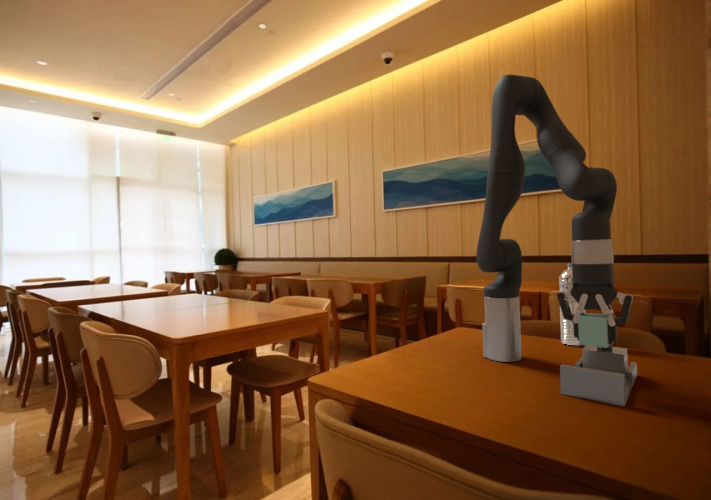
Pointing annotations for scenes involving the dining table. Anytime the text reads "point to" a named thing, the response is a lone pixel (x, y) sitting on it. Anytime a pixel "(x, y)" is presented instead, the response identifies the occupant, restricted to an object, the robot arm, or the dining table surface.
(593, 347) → the ram
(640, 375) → the dining table surface
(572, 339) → the water bottle
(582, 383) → the box
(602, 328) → the block
